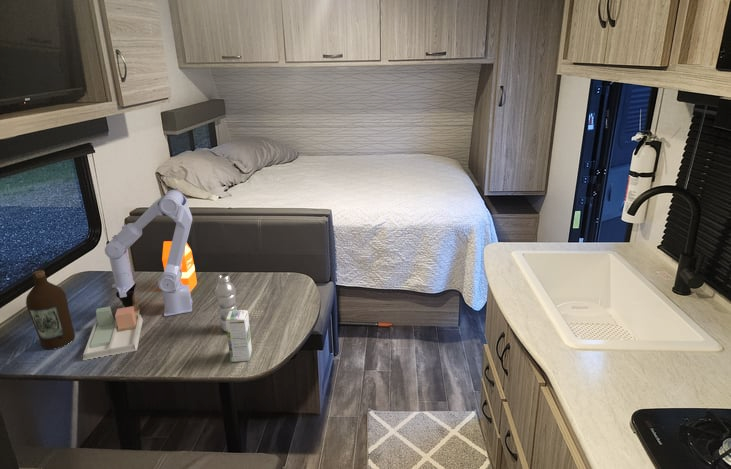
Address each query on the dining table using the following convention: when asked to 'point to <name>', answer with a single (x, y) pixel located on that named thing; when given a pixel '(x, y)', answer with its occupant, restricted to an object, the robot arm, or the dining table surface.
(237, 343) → the syrup box
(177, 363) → the dining table surface
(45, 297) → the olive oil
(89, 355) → the lane board
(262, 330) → the dining table surface
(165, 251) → the orange juice
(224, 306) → the plastic bottle
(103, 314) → the strip
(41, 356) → the dining table surface
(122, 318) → the block
